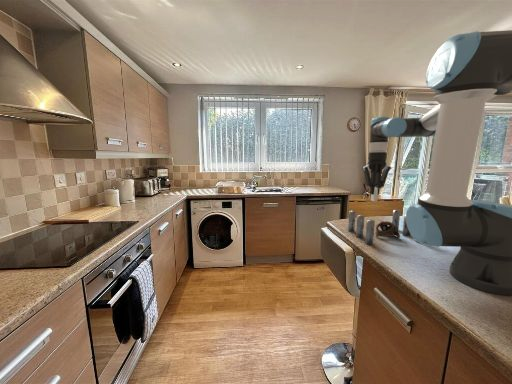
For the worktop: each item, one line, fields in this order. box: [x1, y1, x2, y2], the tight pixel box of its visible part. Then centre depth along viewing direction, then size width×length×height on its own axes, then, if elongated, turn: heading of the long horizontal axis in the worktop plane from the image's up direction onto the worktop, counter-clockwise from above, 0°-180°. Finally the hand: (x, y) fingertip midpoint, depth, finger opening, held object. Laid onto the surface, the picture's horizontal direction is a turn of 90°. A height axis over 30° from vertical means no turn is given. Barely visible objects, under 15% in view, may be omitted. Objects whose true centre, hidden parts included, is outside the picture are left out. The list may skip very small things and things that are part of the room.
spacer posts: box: [347, 209, 419, 246], centre depth 100 cm, size 19×25×10 cm
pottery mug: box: [375, 220, 401, 239], centre depth 100 cm, size 12×10×8 cm
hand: (373, 200), depth 108 cm, fingers closed
